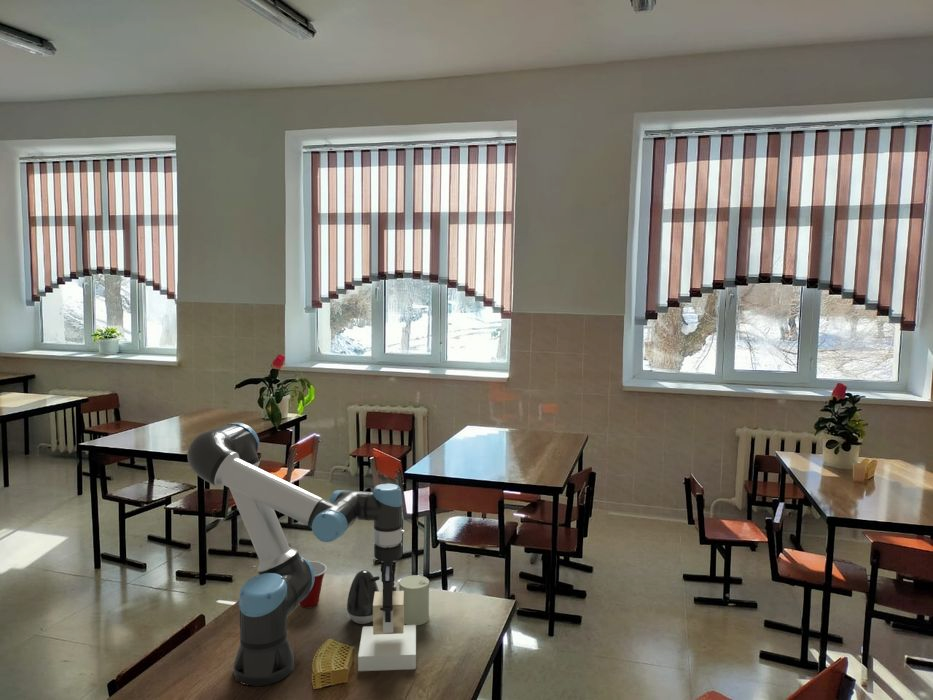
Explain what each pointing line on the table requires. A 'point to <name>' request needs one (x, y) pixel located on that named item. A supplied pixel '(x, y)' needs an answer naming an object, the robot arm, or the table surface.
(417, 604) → the can
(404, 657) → the white square slab
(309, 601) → the plastic cup
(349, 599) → the pump dispenser
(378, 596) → the maple cube
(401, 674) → the table surface
